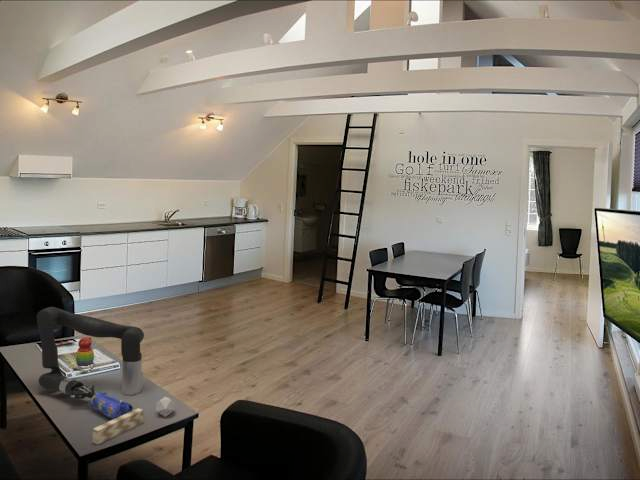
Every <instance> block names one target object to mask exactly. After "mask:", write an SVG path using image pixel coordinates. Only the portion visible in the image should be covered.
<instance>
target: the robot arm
mask: <svg viewBox="0 0 640 480" xmlns="http://www.w3.org/2000/svg"><path fill="white" fill-rule="evenodd" d="M36 322H37V326H38V332H39V337H40V344H41V345H40V346H41V357H42V358H41V363H42V368H44V369H50V370H51V371H49V372H46V373H43V374H41V375H40V376H39V378H38V385H40V387H41V388H42V389H45V390H52V391H54V390H55V391H56V390H57V391H59V392H61V393H62V394H65V395H67V396H70V399H71V400H80V399H81V400H83V399H85V398H86V399H87V398H89V399H91V398H92V397H93V396H94V395H95V394H96V393H95V385H94V384H93V385H91V386H89V385H88V386H87V385H84V383H83V382H81V381H79V380H76V379H73V378H71V377H70V378H69V377H67V376H64V375H63V374H62V370H61V367H60V364H59V352H58V351H59V350H58V346H57V343H56V340H55V335H54V334H55V333H54V328H55V325H56V326H62V327H67V328H70V329H71V330H74V331H76V332H77V333H79V334H81V335H85V336H88V337H91V338H114V339H119V340H121V341H120V343H121V345H120V346H121V347H120V350H121V353H120V354H121V357H122V360H121V361H122V364H121V365H122V367H121V370H122V371H121V372H122V374H121V376H122V377H121V378H122V379H121V393H122V394H124V395H126V396H132V395H137V394H140V393H141V391H143V389H144V388H143V385H144V383H143V382H144V381H143V379H144V372H143V371H142V361H143V360H142V359H143V358H142V357H143V356H142V355H143V354H142V352H141V343H142V341H143V340H144V338H145V333H144V330H142V329H141V328H140V327H137V326H133V325H132V326H131V325H125V324H121V323H120V324H119V323H115V322H111V321H108V320H104V319H100V318H98V317H97V318H96V317H93V316H89V315H84V314H78V313H72V312H71V311H67V310H63V309H61V308H58V307H55V306H49V307H45V308H43V309H41V310H40V311H38V313H37V315H36Z"/></svg>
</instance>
